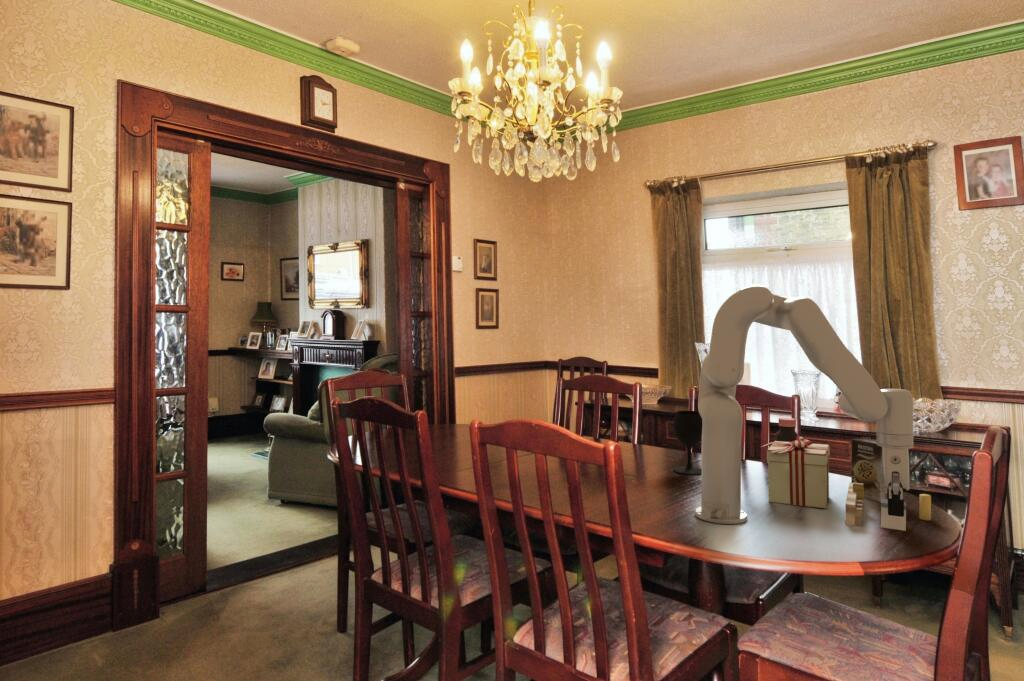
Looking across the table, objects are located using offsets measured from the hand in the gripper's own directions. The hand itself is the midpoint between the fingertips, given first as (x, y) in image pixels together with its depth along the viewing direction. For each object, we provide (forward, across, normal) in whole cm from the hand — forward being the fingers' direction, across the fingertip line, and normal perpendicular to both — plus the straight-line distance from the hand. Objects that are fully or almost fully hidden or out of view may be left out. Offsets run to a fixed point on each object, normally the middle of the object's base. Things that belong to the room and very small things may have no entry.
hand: (895, 510), depth 146 cm
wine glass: (+4, +31, +58) cm, 66 cm away
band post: (+4, +11, -6) cm, 13 cm away
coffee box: (+4, +27, +5) cm, 28 cm away
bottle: (+4, +32, +28) cm, 43 cm away
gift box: (+4, +13, +24) cm, 27 cm away
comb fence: (+4, +8, +10) cm, 13 cm away
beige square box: (+4, 0, 0) cm, 4 cm away
